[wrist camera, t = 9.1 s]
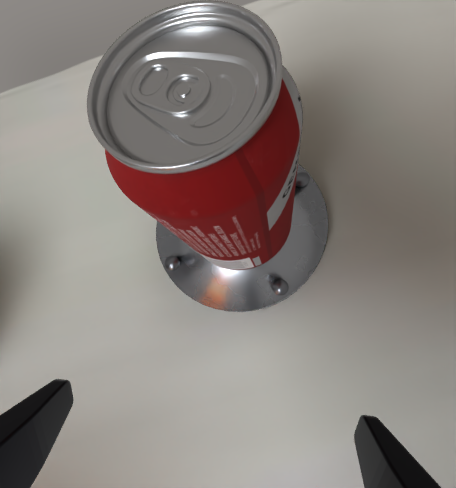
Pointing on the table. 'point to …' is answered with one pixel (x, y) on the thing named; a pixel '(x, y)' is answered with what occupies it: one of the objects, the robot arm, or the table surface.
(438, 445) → the table surface
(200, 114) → the soda can
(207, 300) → the flange
